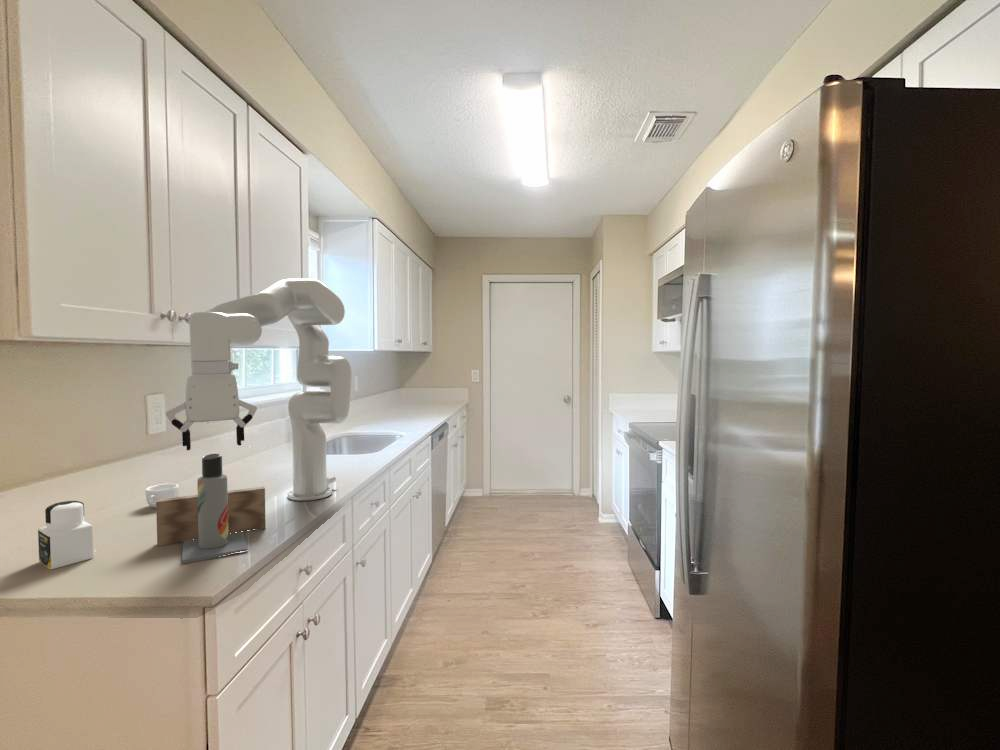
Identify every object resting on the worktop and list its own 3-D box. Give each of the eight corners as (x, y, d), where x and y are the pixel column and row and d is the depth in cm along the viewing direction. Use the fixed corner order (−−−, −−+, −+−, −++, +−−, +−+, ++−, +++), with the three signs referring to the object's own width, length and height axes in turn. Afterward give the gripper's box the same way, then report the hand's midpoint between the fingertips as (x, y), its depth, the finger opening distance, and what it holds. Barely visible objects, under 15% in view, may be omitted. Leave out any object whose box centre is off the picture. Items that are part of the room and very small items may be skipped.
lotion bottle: (233, 539, 113) (231, 452, 112) (219, 549, 107) (217, 457, 106) (208, 539, 113) (206, 452, 112) (193, 549, 107) (190, 457, 106)
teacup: (155, 502, 144) (155, 483, 144) (184, 501, 145) (183, 483, 145) (135, 513, 134) (134, 493, 134) (166, 512, 135) (165, 492, 135)
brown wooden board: (264, 526, 124) (263, 486, 124) (265, 528, 122) (264, 488, 122) (157, 543, 113) (156, 499, 112) (157, 546, 111) (156, 502, 111)
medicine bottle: (38, 562, 102) (36, 504, 102) (82, 550, 108) (80, 496, 108) (50, 570, 99) (47, 510, 98) (94, 558, 104) (92, 501, 104)
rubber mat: (243, 534, 118) (243, 531, 118) (247, 552, 108) (247, 548, 108) (183, 544, 112) (183, 541, 112) (182, 564, 102) (182, 560, 102)
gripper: (253, 367, 116) (256, 439, 117) (164, 369, 107) (168, 448, 108) (257, 368, 110) (259, 445, 111) (162, 371, 101) (166, 454, 102)
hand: (214, 446), depth 109 cm, fingers open, 9 cm apart
